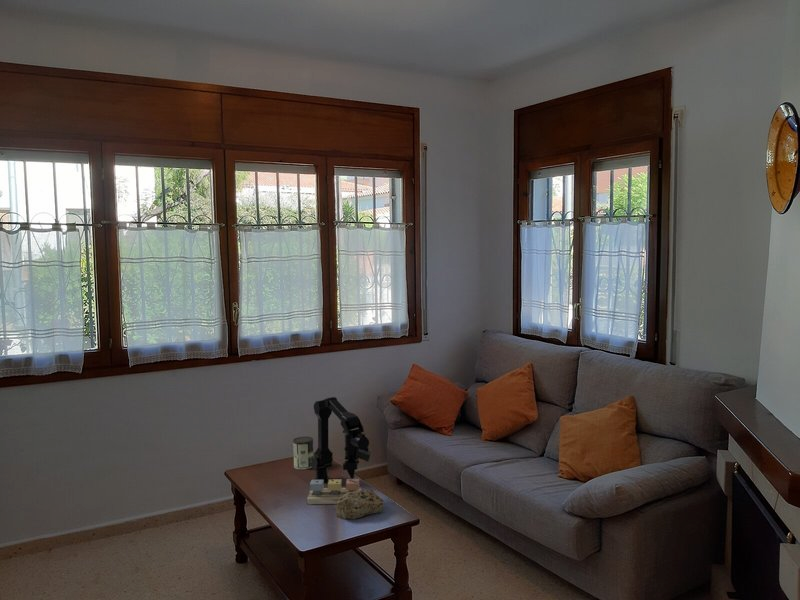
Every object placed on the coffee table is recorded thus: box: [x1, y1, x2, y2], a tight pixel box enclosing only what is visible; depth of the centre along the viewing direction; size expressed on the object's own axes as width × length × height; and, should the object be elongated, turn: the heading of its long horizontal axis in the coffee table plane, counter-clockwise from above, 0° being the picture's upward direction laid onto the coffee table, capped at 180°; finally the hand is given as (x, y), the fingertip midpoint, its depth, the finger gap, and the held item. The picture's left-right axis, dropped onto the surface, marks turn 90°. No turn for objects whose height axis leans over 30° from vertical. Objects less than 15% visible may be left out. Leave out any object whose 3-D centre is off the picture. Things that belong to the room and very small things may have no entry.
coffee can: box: [292, 436, 315, 470], centre depth 333 cm, size 10×10×14 cm
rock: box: [335, 489, 385, 520], centre depth 274 cm, size 21×14×10 cm
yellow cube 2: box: [327, 478, 343, 495], centre depth 290 cm, size 6×6×6 cm
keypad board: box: [306, 487, 363, 505], centre depth 290 cm, size 12×23×2 cm, turn 89°
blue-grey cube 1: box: [309, 479, 325, 495], centre depth 290 cm, size 6×6×6 cm
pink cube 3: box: [345, 478, 360, 492], centre depth 290 cm, size 6×6×6 cm
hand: (352, 478), depth 289 cm, fingers closed
